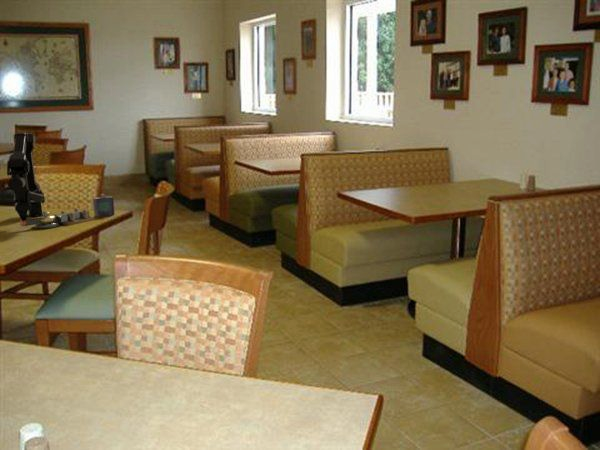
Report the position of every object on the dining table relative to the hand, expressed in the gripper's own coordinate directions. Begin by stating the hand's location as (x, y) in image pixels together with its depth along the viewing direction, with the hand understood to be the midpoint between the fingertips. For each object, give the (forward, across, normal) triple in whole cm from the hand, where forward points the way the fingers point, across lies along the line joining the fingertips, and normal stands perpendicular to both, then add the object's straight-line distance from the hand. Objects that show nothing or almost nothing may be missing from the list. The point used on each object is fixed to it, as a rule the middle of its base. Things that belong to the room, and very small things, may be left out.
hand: (24, 222), depth 265 cm
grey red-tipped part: (+1, 0, -5) cm, 5 cm away
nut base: (+3, +2, -9) cm, 10 cm away
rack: (+3, +7, -21) cm, 23 cm away
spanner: (+2, +6, -20) cm, 21 cm away
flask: (+4, +13, -35) cm, 38 cm away
